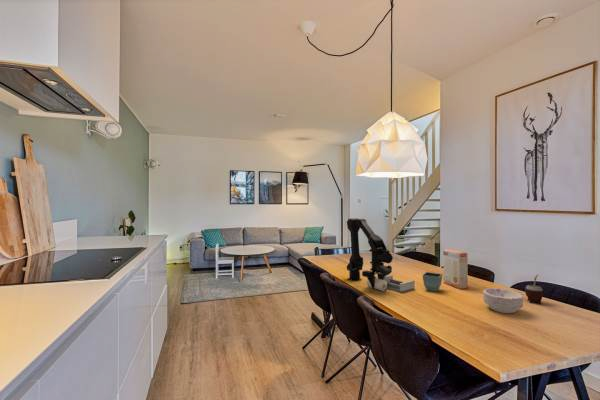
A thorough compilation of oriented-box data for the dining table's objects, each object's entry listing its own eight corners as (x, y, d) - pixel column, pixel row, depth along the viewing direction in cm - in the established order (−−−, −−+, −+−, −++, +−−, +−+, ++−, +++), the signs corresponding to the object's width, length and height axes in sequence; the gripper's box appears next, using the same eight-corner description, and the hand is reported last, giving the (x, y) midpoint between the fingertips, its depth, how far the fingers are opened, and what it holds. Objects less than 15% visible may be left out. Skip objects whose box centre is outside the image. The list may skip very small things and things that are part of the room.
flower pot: (439, 293, 162) (439, 277, 162) (422, 290, 167) (422, 274, 167) (442, 289, 169) (442, 274, 169) (426, 287, 174) (426, 271, 174)
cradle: (378, 286, 177) (378, 277, 177) (391, 282, 183) (391, 274, 183) (401, 293, 163) (401, 284, 163) (414, 289, 170) (414, 280, 170)
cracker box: (468, 288, 170) (468, 252, 170) (459, 289, 169) (458, 253, 169) (451, 282, 184) (451, 248, 184) (443, 282, 183) (442, 249, 183)
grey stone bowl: (505, 317, 128) (505, 299, 128) (475, 305, 143) (475, 289, 143) (531, 314, 132) (531, 296, 132) (500, 302, 147) (500, 286, 147)
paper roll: (366, 287, 174) (366, 277, 174) (373, 285, 177) (373, 275, 177) (380, 292, 165) (380, 281, 165) (387, 290, 168) (387, 279, 168)
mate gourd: (531, 299, 152) (531, 270, 152) (548, 304, 144) (548, 273, 144) (521, 300, 150) (521, 271, 150) (538, 306, 142) (537, 274, 142)
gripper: (376, 264, 159) (376, 293, 159) (398, 260, 170) (398, 287, 170) (361, 261, 168) (361, 288, 168) (383, 257, 179) (383, 283, 179)
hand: (376, 287), depth 171 cm, fingers closed on paper roll, 6 cm apart
